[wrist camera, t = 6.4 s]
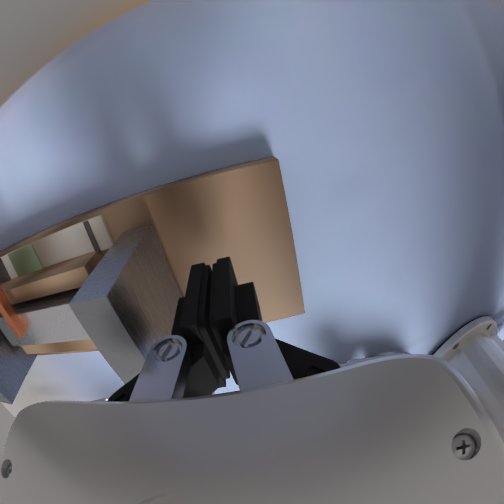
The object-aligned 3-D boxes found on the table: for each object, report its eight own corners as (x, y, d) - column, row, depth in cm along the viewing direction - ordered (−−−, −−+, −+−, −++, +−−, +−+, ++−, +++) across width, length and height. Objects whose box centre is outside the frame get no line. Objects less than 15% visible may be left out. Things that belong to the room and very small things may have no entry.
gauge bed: (273, 156, 13) (287, 166, 10) (300, 301, 17) (313, 335, 14) (-21, 262, 14) (-42, 282, 11) (29, 346, 18) (16, 370, 15)
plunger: (140, 186, 12) (79, 241, 6) (195, 323, 15) (186, 413, 10) (-14, 254, 12) (-64, 302, 7) (40, 345, 16) (9, 402, 10)
